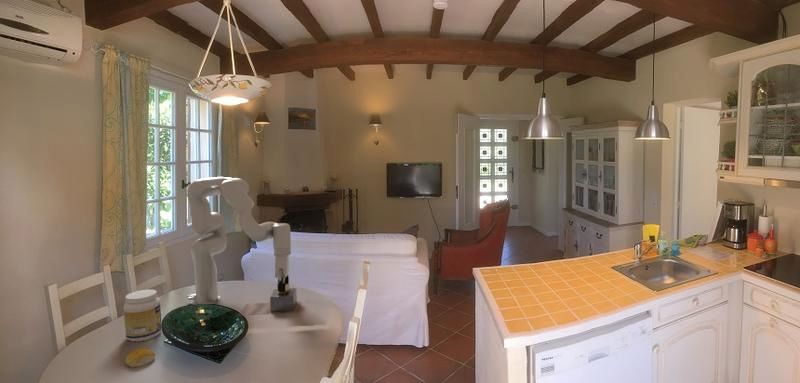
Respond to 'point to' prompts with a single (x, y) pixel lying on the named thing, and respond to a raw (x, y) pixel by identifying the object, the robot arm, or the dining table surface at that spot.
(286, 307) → the hitch block
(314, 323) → the dining table surface
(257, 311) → the mount plate
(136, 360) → the bread roll
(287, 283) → the brass pin
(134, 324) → the supplement tub
